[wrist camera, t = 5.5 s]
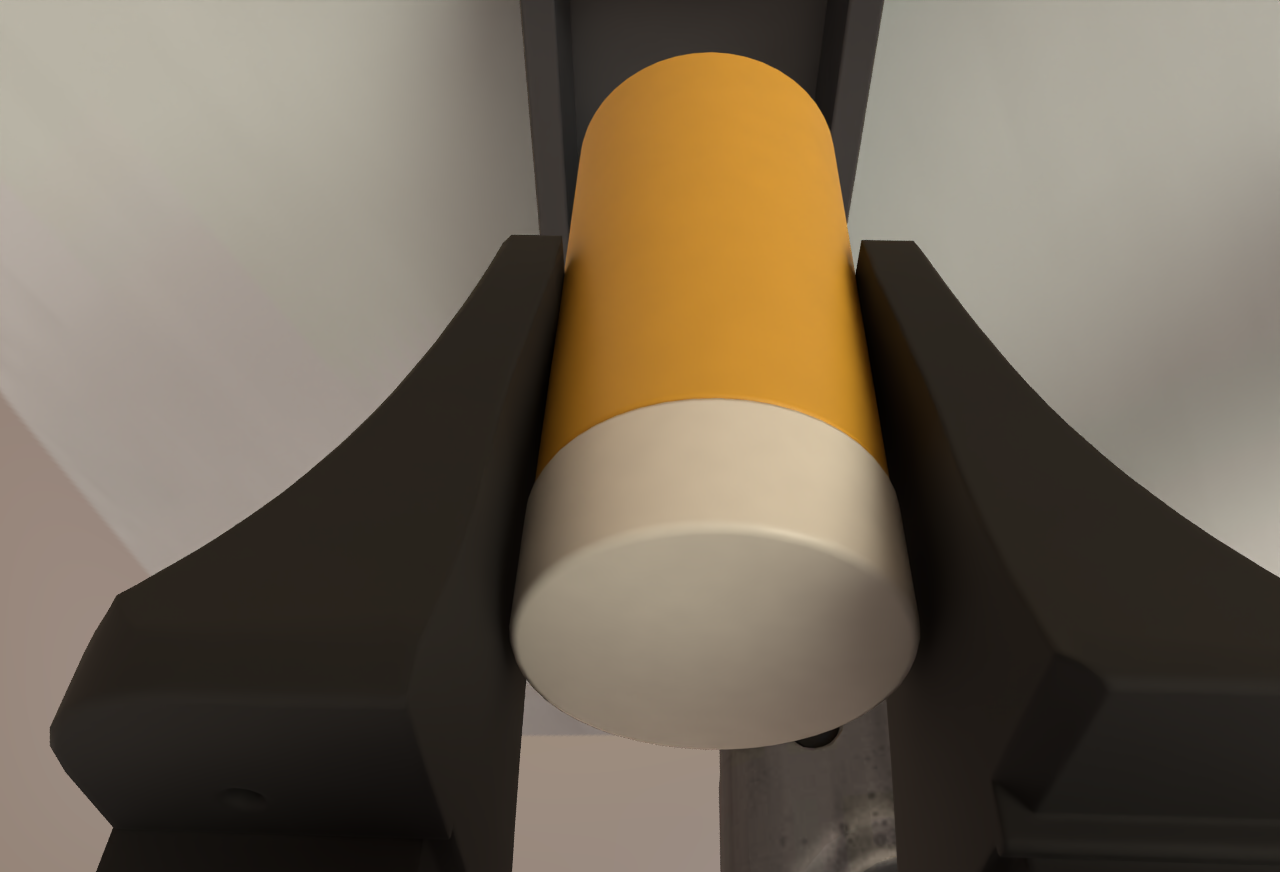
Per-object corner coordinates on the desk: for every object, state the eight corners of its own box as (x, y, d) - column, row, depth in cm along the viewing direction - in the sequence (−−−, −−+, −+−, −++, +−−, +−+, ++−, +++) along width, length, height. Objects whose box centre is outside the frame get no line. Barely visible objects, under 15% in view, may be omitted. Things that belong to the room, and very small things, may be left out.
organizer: (871, -110, 19) (892, -43, 17) (802, 366, 27) (810, 448, 25) (533, -113, 19) (515, -47, 17) (567, 361, 28) (557, 442, 26)
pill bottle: (854, 47, 14) (962, 532, 8) (821, 276, 16) (884, 758, 11) (569, 44, 14) (485, 521, 8) (582, 272, 16) (525, 748, 11)
